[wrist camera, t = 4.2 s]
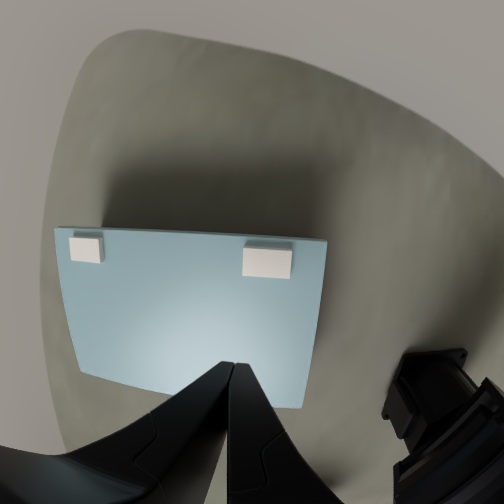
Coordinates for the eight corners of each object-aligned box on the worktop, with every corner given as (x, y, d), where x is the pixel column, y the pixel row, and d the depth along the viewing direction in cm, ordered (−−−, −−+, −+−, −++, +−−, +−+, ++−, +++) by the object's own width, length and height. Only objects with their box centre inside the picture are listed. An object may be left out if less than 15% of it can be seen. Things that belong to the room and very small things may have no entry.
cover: (325, 239, 13) (329, 243, 12) (300, 401, 15) (301, 413, 14) (60, 225, 14) (49, 229, 13) (85, 366, 16) (77, 374, 15)
